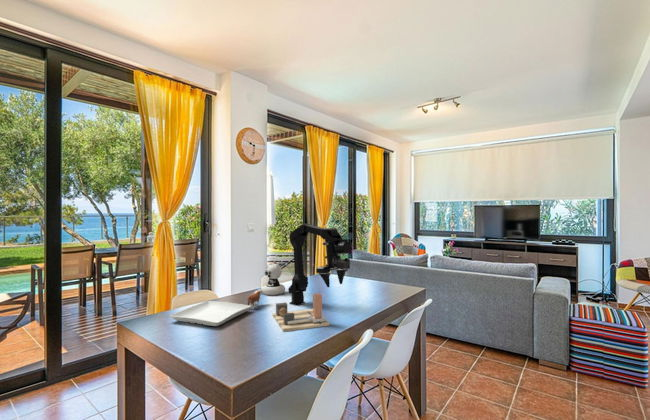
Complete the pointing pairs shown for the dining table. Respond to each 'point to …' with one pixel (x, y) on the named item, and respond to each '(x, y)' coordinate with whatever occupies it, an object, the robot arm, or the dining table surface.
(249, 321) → the dining table surface
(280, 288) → the decorative figurine
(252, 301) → the bull figurine
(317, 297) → the slider
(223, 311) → the square plate
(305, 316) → the press base
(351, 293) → the dining table surface
